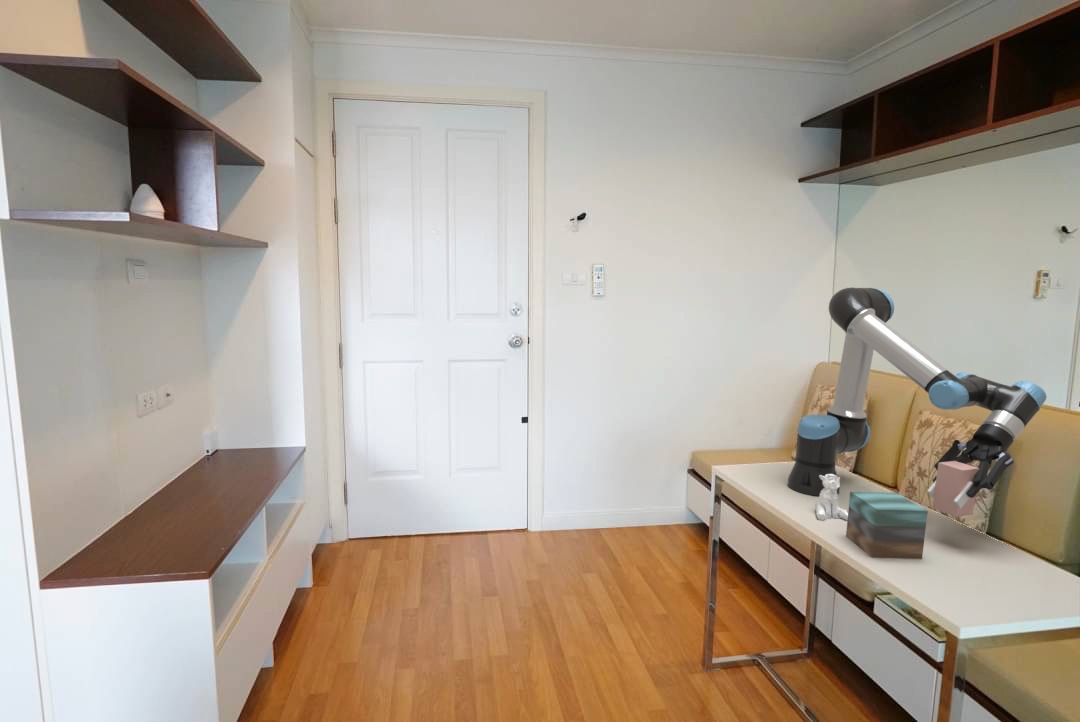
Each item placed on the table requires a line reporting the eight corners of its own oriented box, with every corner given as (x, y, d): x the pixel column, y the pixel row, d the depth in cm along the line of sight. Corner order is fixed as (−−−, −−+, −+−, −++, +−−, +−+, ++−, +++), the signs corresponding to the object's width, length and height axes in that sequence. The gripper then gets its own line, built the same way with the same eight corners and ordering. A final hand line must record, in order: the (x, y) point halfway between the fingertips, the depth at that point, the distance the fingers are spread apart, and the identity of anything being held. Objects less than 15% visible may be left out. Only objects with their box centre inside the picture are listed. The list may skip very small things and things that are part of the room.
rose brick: (932, 507, 147) (938, 462, 145) (948, 505, 149) (955, 460, 147) (955, 516, 141) (962, 470, 140) (972, 514, 143) (979, 468, 142)
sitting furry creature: (818, 520, 159) (822, 479, 157) (803, 508, 168) (807, 469, 166) (852, 521, 159) (856, 479, 158) (836, 509, 168) (839, 470, 166)
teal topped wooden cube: (846, 535, 149) (850, 491, 148) (892, 537, 149) (896, 492, 148) (871, 557, 138) (877, 509, 136) (922, 558, 137) (927, 510, 136)
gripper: (1045, 452, 139) (989, 523, 136) (965, 431, 157) (914, 494, 154) (1034, 432, 136) (977, 504, 133) (954, 414, 154) (902, 477, 151)
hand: (943, 499), depth 144 cm, fingers closed on rose brick, 6 cm apart
